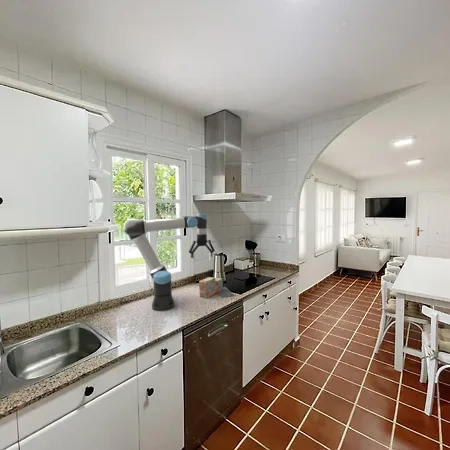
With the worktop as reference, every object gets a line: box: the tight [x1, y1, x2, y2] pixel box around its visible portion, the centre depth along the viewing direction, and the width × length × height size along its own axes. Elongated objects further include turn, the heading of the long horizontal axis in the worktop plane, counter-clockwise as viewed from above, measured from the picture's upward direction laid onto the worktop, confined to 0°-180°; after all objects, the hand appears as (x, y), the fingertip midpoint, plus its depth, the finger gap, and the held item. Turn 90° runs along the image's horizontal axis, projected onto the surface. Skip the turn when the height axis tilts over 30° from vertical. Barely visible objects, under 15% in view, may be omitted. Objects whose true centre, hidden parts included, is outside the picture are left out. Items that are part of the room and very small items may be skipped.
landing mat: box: [216, 286, 235, 298], centre depth 198 cm, size 10×22×1 cm, turn 18°
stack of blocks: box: [198, 276, 224, 299], centre depth 195 cm, size 21×6×12 cm, turn 143°
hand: (201, 261), depth 191 cm, fingers open, 13 cm apart
